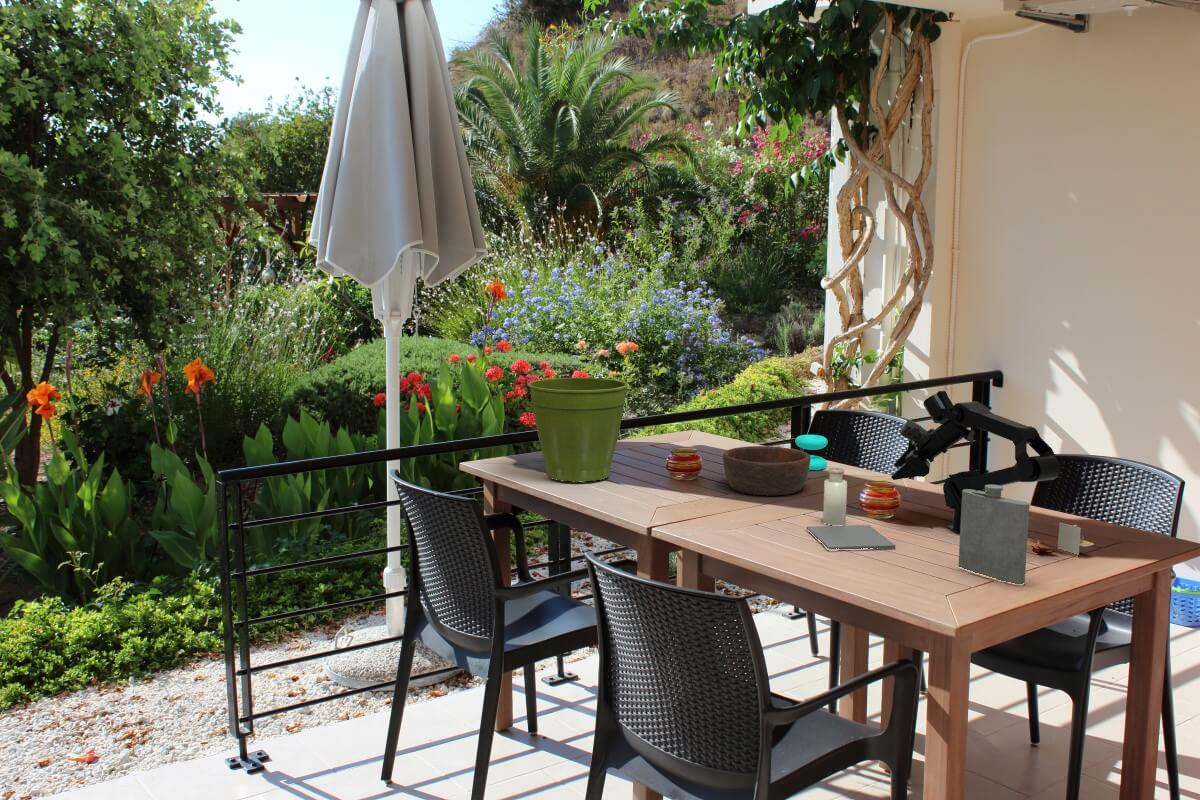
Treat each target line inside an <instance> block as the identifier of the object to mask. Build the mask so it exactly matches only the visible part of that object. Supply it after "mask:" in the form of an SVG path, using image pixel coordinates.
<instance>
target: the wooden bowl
mask: <svg viewBox="0 0 1200 800" xmlns="http://www.w3.org/2000/svg"><path fill="white" fill-rule="evenodd" d="M810 455H811V454H809V453H808V452H806V451H803V450H800V449H795V448H789V447H782V446H770V445H767V446H766V445H764V446H763V445H759V446H758V445H752V446H741V447H740V446H739V447H734V448H730V449H728V450H725V451H724V452H723V454H722V463H723V469H724V475H725V478H726V481H727V482H728V484H729V486H730V487H731V489H733V490H734V491H735V490H736V491H735V492H738V491H739V492H738V493H741V492H743V493H742V494H745V493H747V494H746V495H750V494H753V495H752V496H759V495H766V496H765V497H778V496H777V495H783V496H789V494H790V495H794V494H796V492H797V493H798V492H800V491H801V490H802V489H803V487H804V485H805V484H806V481H807V478H808V474H809V472H810V470H809V466H810V459H811V458H810Z"/></svg>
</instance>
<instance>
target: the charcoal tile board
mask: <svg viewBox="0 0 1200 800" xmlns="http://www.w3.org/2000/svg"><path fill="white" fill-rule="evenodd" d="M807 530H809V531H810V532H811V533H812V534H813V535H814V536H815V537H816V538H817V539H819V540H820V541H821V542H822V543H823V544H824V545H825V546H826V547H827V548H829V549H836V548H837V549H838V548H839V549H861V548H862V549H863V548H868V549H870V548H873V549H877V548H878V549H895V550H896V547H897V546H896V544H894V543H893V542H892V541H891V540H889V539H888V538H887V537H886V536H884V535H883V534H882V533H880V532H879V531H878V530H876V529H875V528H874V527H872V526H871V525H870V524H863V525H862V524H859V525H858V524H856V525H855V524H854V525H853V524H851V525H843V526H829V525H821V526H820V525H818V526H817V525H815V526H814V525H813V526H812V525H811V526H806V531H807Z"/></svg>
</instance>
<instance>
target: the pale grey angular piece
mask: <svg viewBox="0 0 1200 800" xmlns="http://www.w3.org/2000/svg"><path fill="white" fill-rule="evenodd" d="M1081 531H1082V528H1081V527H1079V526H1078V524H1075V525H1073V524H1072V525H1071V524H1067V523H1064V522H1059V525H1058V537H1057V549H1062V550H1064V551H1068V552H1071V553H1074V554H1077V555H1079V556H1080V547H1081V546H1082V547H1090V546H1094V543H1095V542H1090V541H1087V540H1084V537H1085V536H1084V535H1081Z"/></svg>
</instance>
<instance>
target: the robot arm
mask: <svg viewBox="0 0 1200 800" xmlns="http://www.w3.org/2000/svg"><path fill="white" fill-rule="evenodd" d="M922 404H923V407H924V409H925V410H926V411H927V413H928V415H929V417H930V418H931V420H932V421H933V423H934V424H940V425H939V426H938V427H936V428H929V429H928V430H927V429H925V428H923V427H922V426H921V425H919V424H917V423H916V422H913V421H912V420H910V419H907V420H906V422H905V424H904V425H903V426H902V428H901V429H900V432H899V433H900V435H901V436H902V437H904V438H907V439H908V444H907V445H908V446H907V448H906V449H905V451H904V452H903V453H902V455H900V456H899V458H898V459H897V460H896V461H895V462H894V463H893V466H894V467H895V468H898V469H897V470H896V471H894V473H893V474H892V475H891V476H890V477H891V479H892V480H893V481H896V480H902V479H909V478H917V477H919V478H920V477H921V478H924V477H925V476H927V475H929V474H930V468H931V463H933V462H934V461H935V458H936V457H938V456H939V455H941V454H942V453H943V454H946V453H947V452H949V451H948V449H950V448H951V447H953V446H954V445H956V444H957V443H959V442H960V441H961V440H963V439H964V440H965V441H967V442H969V443H973V441H974V435H975V431H973V430H972V429H978V430H979V429H980V430H982V431H986V432H987V433H991V434H993V435H996V436H998V437H1001V438H1002V439H1006V440H1009V441H1010V442H1011V441H1012V444H1013V445H1014V459H1015V462H1016V463H1015V464H1014V465H1013V466H1008V467H1005V468H1000V469H998V470H994V471H991V472H986V473H981V474H980V473H979V469H974V470H965V471H959V472H956V473H951V474H948V477H947V478H945V479H944V483H943V485H942V490H943V495H944V496H943V497H944V501H945V505H946V507H949V509H953V510H952V511H953V513H952V524H950V525H949V524H948V525H947V527H946V528H947V529H948V530H950V531H952V532H954V533H955V534H957V535H960V526H961V507H962V490H964V489H971V490H976V491H984V492H986V490H985V485H999V486H1002V487H1003V486H1007V485H1011V484H1012V485H1013V484H1016V483H1035V482H1043V481H1049V480H1050V481H1052V480H1055V479H1057V478H1059V476H1060V473H1061V464H1060V462H1059V460H1058V458H1057V456H1056V454H1055V452H1054V450H1053V449H1052V447H1051V446H1050V445H1049V444H1048V443H1047V442H1046V441H1044V439H1043V438H1042V437H1041V436H1040V435H1041V434H1040V433H1039V432H1038V429H1037V428H1035V427H1033V426H1031V425H1025V424H1022V423H1020V422H1017V421H1014V420H1012V419H1009V418H1006V417H1004V416H1001V415H999V414H996V413H993V412H992V411H990V410H989V408H988V406H986V405H984V404H983V403H981V402H979V401H966V402H964V401H963V402H956V403H955V404H953V402H952V401H951V400H950V398H949V395H948V393H947V392H946V390H938V391H937V392H936V393H935V394H932V395H930V396H929V397H928V398H925V399H924V401H923V403H922ZM969 428H971V429H969ZM1028 445H1029V446H1030V447H1031V448H1032V450H1034V451H1035V453H1037V455H1035V456H1029V454H1028V449H1027V448H1028V447H1027V446H1028Z"/></svg>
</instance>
